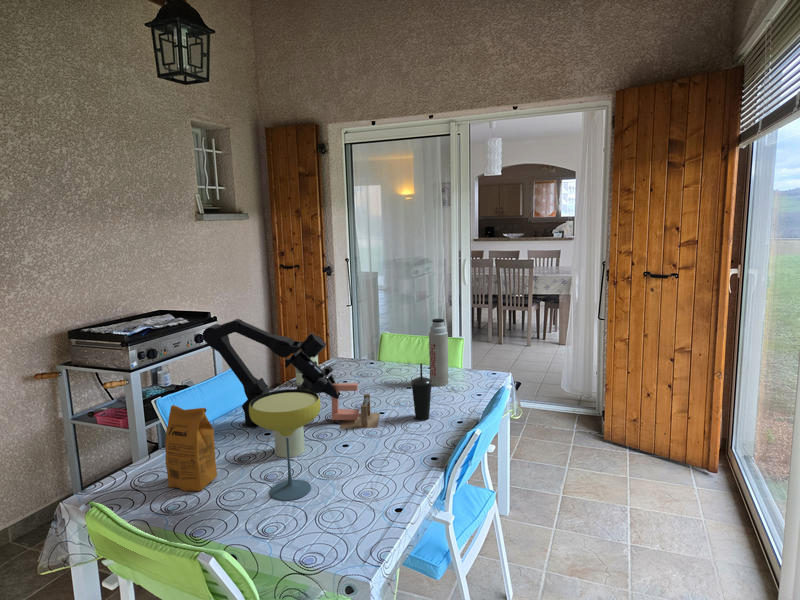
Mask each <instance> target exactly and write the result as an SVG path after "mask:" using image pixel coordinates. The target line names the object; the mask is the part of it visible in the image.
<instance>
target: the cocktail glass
mask: <svg viewBox="0 0 800 600" xmlns="http://www.w3.org/2000/svg"><path fill="white" fill-rule="evenodd" d="M320 411H321V399H320V396H319V395H318V394H317V393H314V392H312V391H308V390H301V389H297V388H296V389H294V388H293V389H292V388H290V389H278V390H273V391H269V393H265V394H262V395H260V396H257V397H256V398H254V399H253V400H252V401H251V402H250V404H249V414H250V418H251V420H252V421H253V422H254V423H255V424H257V425H258V427H261V428H263V429H265V430H269V431H273V432H274V431H277V432H279V433H280V434H281V435H282V436H283V437H284V438H286V445H287V458H286V459H287V479H286V480H283V481H280V482H278V483H276V484H274V485H273V486H272V487H271V488H270V490H269V495H270V497H271V498H272V499H274V500H276V501H281V502H282V501H284V502H289V501H296V500H299V499H302V498H303V497H305V496H307V495H308V494H309V493H310V492H311V490H312V486H311V483H309V482H308V480H303V479H296V478H295V479H293V476H292V470H291V469H292V467H291V457H290V454H289V437H290V436H291V435H292V434H293V432H294V431H295V430H296V429H298V428H300V427H302V426H303V427H304V426H306V425H308V424H309V423H311V422H313V420H314V419H316V418H317V416H319V414H320Z"/></svg>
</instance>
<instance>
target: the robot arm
mask: <svg viewBox="0 0 800 600" xmlns="http://www.w3.org/2000/svg"><path fill="white" fill-rule="evenodd" d="M233 333H236V334H239V335H240V336H244V337H245V338H248V339H250V340H252V341H254V342H256V343H259V344H261V345H264V346H265V347H267V348H268V349H269V350H270V351H271V352H272V353H274V354H275V355H277V356H279V357H280V358H285V359H284V362H285V363H284V367H285V368H288V367H289V366H291V365H292V366H293V367H294V368H295V370H296V369H297V370H298V371H299V372H300V373H301V374H303V375H302V378H303V379H304V381H303V383H302V385H297V387H296V389H301V390H308V391H312V392H314V393H316V394H317V395H318V394H320V393H324V394H326V395H327V396H330V397H331V396H332V397H334V398H336V399H338V400H339V398H340V396H341V391H338V393H337V391H336V390H335V388H334V386H333V384H332V383H336V380H335V378H334V374H333V373H332V372H333V370H334V368H332V366H330V365H326V366H325V367H324V368H323V369H322V368H321V367H320V366H317V365H316V364H317V362H316V361H315V362H313V361H312V360H311V359H310V358H311V357H316V356H317V355H318V356H319V354H320V353H321V352H322V351H323V350H324V349H325V348H326V347H327V344H326V342H325V341H324V340H323V339H322V337H319V336H318V335H316V334H314V333H313V332H311V333H310V334H309V335H308V336H307V337H306V338H305V340H304V341H300V340H294V339H293V338H291V337H288V336H284V335H279V334H273V333H271V332H268V331H266V330H264V329H261V328H259V327H257V326H255V325H252V324H250V323H247V322H246V321H243V320H242V319H240V318H235V319H233V320H231V321H228V322H225V323H222V324H220V323H214V324H211V325H210V326H208V327H206V328H205V329H204V330H203V332H202V339H203V342H205V343H206V345H208V346H209V347H210V348H211V349H213V350H214V351H216V352H218V353H219V355H220V356H221V358H222V359H223V360H224V361H225V362H226V364H227V366H229V368H230V369H231V371H232V373H233V374H234V375H235V377H236V378H237V379H238V380H239V382H240V383H241V384H242V386H243V387H242V388H243V391H244V394H245V397H246V401H245V402H244V403H243V404H242V405H241V408H242V410H243V412H244V422H242V423H241V424H242V426H246V427H249V428H258V427H259V426H258V425H257V424H255V423H254V422H253V421H252V420H251V418H250V414H249V404H250V402H251V401H252V400H253V399H254V398H256V397H257V396H260V395H262V394H265V393H269V392H270V389H269V387H270V386H269V385H268V384H267V383H266V382H265V380H264V378H263V377H260V378H259V379H258V378H257V377H255V376H254V375H253V373H252V372H251V371H250V370H249V367H248V366H247V365H246V364H245V362H244V361H243V360H242V358H241V356H240V355H239V354H238V353H237V351H236V350H235V349H234V347H233V346H232V344H231V342H230V338H229V335H231V334H233ZM299 350H301V351H300V352H299V353H296V352H297V351H299ZM302 351H303V352H304V353H303V352H302ZM289 356H290V357H289ZM309 357H310V358H309ZM332 397H331V398H332Z"/></svg>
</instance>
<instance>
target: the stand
mask: <svg viewBox="0 0 800 600" xmlns="http://www.w3.org/2000/svg"><path fill="white" fill-rule="evenodd" d="M380 416H381V412H372V411H371V394H370V393H364V394H363V402H362V404H361V405H360V412H359V416H358V420H341V423H340V425H339V427H338V428H339V430H340V429H378V428H379V427H378V426H379V424H380V423H379V422H380Z"/></svg>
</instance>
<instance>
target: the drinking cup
mask: <svg viewBox="0 0 800 600" xmlns="http://www.w3.org/2000/svg"><path fill="white" fill-rule="evenodd" d="M419 366H420V370H419V373H420V377H415V378H413V379H411V380H410V384H411V390H412V399H413V406H414V414H415V416H414V417H415V420H418V421H427V420H429V419H430V411H431V395H432V386H433V385H432V380H431V379H430V378H428V377H426V376H423V363H419Z"/></svg>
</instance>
